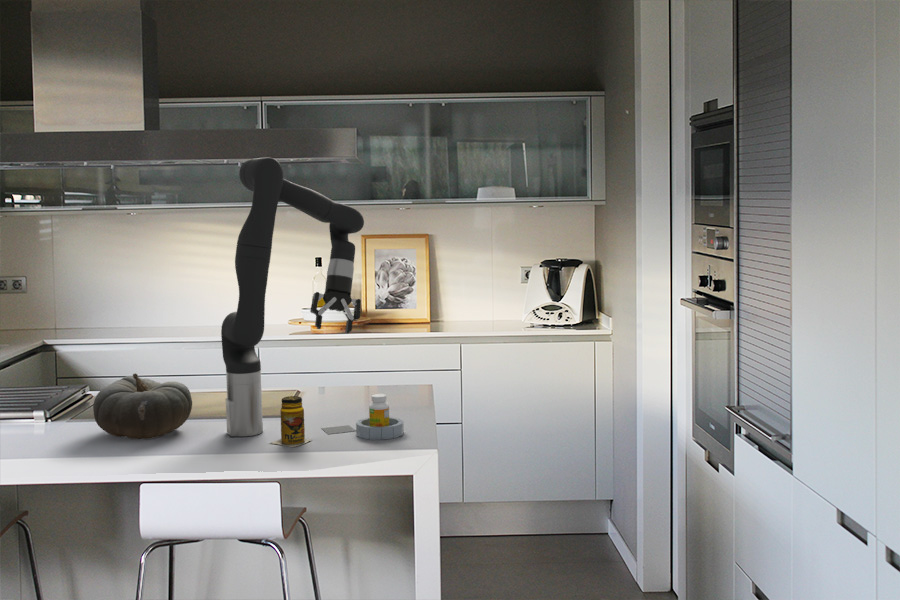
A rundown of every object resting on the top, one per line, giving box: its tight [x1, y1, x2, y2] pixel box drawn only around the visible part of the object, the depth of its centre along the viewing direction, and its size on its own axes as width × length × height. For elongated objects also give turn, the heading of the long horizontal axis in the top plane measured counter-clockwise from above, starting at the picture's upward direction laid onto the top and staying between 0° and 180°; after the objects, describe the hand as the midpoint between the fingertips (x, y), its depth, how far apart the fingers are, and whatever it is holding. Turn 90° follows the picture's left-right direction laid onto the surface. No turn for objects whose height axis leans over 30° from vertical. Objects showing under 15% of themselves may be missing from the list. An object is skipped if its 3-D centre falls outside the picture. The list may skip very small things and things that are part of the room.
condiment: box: [270, 395, 312, 448], centre depth 225 cm, size 7×8×12 cm
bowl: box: [355, 416, 405, 441], centre depth 233 cm, size 12×12×3 cm
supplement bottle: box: [368, 393, 390, 427], centre depth 233 cm, size 5×5×10 cm
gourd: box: [92, 372, 193, 440], centre depth 236 cm, size 25×25×17 cm
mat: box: [320, 425, 356, 435], centre depth 238 cm, size 8×7×1 cm
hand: (333, 331), depth 248 cm, fingers open, 8 cm apart
